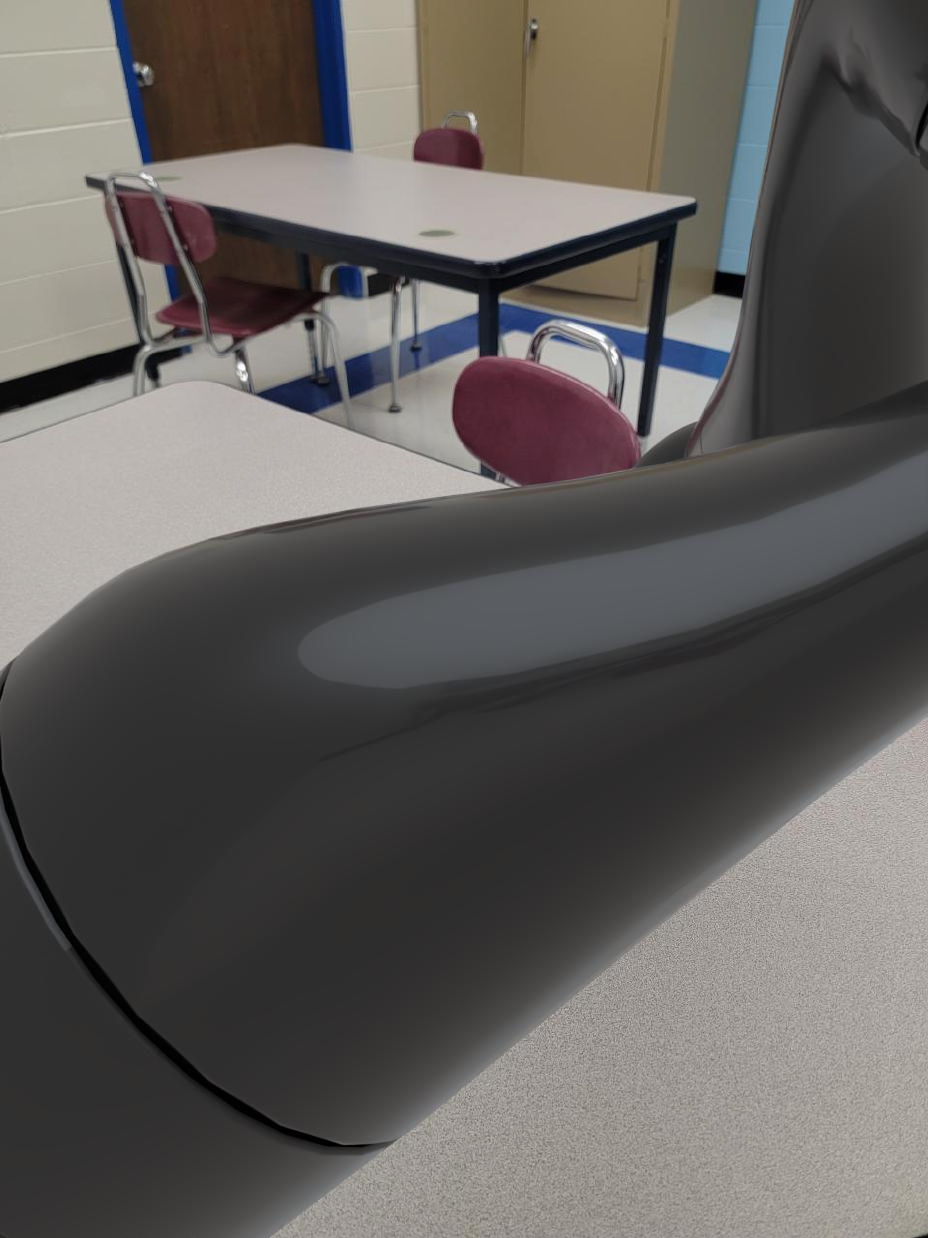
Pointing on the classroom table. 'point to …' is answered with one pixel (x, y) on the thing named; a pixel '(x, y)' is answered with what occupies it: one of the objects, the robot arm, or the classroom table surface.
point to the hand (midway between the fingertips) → (432, 682)
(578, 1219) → the classroom table surface
